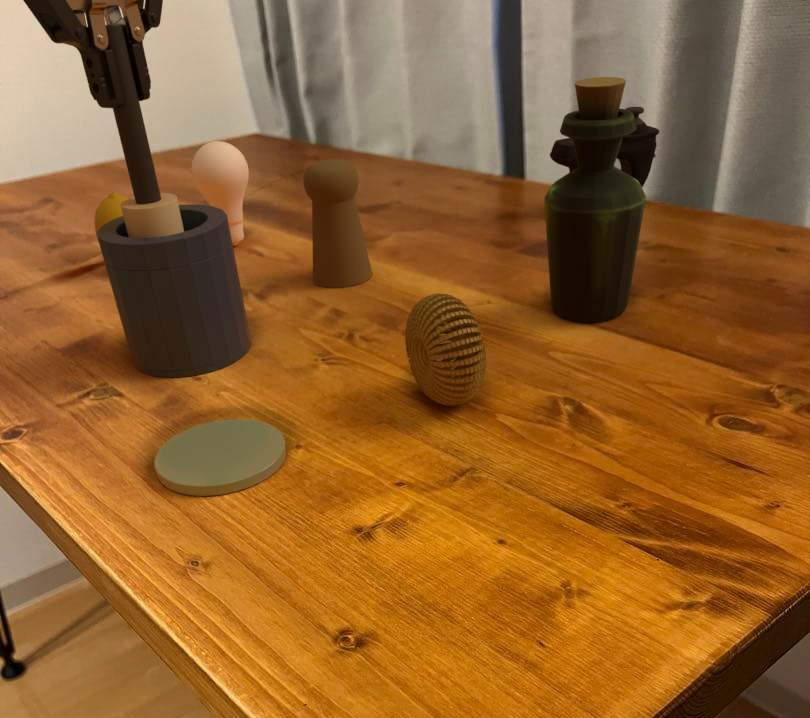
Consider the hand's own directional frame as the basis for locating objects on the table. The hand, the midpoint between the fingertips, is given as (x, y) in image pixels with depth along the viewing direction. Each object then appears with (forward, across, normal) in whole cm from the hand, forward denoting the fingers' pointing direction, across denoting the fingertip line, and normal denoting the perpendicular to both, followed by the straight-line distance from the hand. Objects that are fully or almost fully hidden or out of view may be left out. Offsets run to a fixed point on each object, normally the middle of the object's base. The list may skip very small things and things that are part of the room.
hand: (124, 102), depth 65 cm
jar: (+20, 0, +1) cm, 20 cm away
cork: (+20, -20, +3) cm, 28 cm away
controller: (+20, -49, +19) cm, 56 cm away
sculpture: (+20, -1, +26) cm, 33 cm away
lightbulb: (+20, -24, -15) cm, 35 cm away
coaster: (+20, +13, +16) cm, 29 cm away
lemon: (+20, -14, -21) cm, 32 cm away
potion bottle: (+20, -21, +29) cm, 41 cm away
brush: (+12, 0, 0) cm, 12 cm away
